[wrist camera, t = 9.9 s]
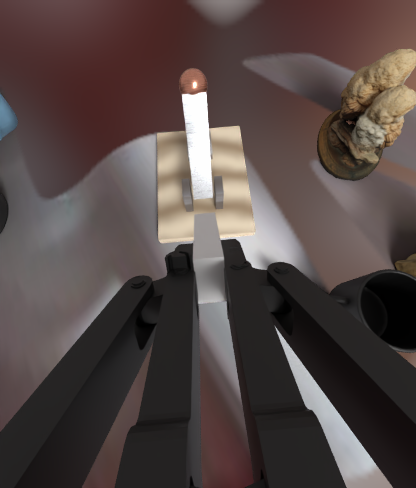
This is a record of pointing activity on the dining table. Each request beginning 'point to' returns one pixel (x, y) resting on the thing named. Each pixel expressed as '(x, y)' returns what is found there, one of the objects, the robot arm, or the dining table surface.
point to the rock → (407, 265)
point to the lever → (197, 131)
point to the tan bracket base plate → (223, 183)
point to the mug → (383, 306)
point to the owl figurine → (367, 116)
